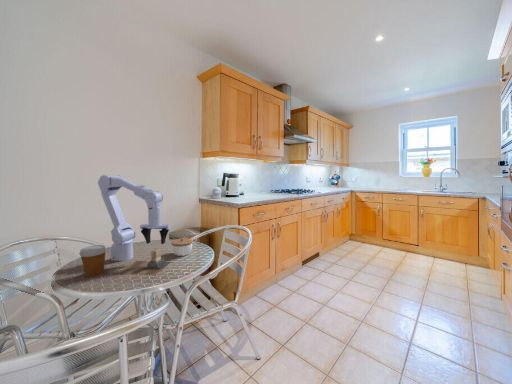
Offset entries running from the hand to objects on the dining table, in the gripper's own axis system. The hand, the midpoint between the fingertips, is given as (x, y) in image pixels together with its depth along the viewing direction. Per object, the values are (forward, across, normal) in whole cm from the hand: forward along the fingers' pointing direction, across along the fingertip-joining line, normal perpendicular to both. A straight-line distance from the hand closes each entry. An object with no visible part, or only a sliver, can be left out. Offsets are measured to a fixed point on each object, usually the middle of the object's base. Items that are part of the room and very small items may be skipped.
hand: (155, 243), depth 107 cm
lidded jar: (+10, +9, +11) cm, 17 cm away
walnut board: (+10, -1, -8) cm, 12 cm away
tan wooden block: (+8, +3, -5) cm, 10 cm away
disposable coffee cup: (+10, -20, -15) cm, 27 cm away
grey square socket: (+10, +3, -6) cm, 12 cm away
